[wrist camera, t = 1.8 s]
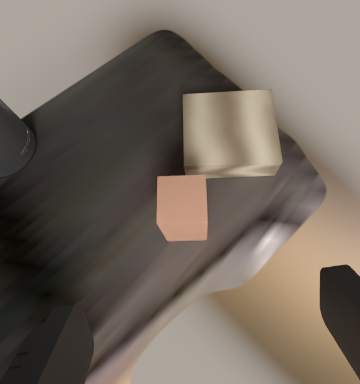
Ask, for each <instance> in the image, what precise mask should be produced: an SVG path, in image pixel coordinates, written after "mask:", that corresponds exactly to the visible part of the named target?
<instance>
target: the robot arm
mask: <svg viewBox="0 0 360 384" xmlns="http://www.w3.org/2000/svg"><path fill="white" fill-rule="evenodd" d="M35 148H36V139H35V135H34V133H33V132H32V131H31V129H30V128H29V127H28V126H27V125H26V124H25V123H24V122H23V121H22V120H21V119H20V118H19V117H18V116H17V115H16V114H15V113H14V112H13V111H12V110H11V109H10V108H9V107H8V106H7V105H6V104H5V103H4V102H3V101H2V100H1V99H0V177H4V176H8V175H11V174H13V173H16V172H17V171H19V170H20V169H22V168H23V167H24V166H25V165H26V164H27V163H28V162H29V161H30V159H31V158H32V156H33V154H34V151H35ZM320 310H321V314H322V318H323V320H324V322H325V325H326V326H327V328H328V330H329V331H330V333H331V334H332V336H333V338H334V339H335V341H336V343H337V344H338V346H339V347H340V349H341V350H342V352H343V354H344V355H345V357H346V359H347V360H348V362H349V363H350V365H351V367H352V368H353V370H354V371H355V373H356V375H357V376H358V378H359V379H360V276H359V275H357V273H356V272H355V271H354V270H353V269H352V268H351V267H350V266H348V265H339V266H332V267H325V268H322V269H321V271H320ZM93 351H94V340H93V335H92V332H91V330H90V327H89V324H88V321H87V319H86V316H85V313H84V310H83V307H82V305H81V304H80V303H78V302H77V303H70V304H63V305H57V306H55V307H54V308H53V309H52V311H51V313H50V314H49V316H48V318H47V320H46V322H45V323H44V324H39V325H38V326H37V327H36V328H35V329H34V330H33V331H32V332H31V333H30V334H29V335H28V336H27V337H26V338H25V340H24V342H23V343H22V345H21V347H20V348H19V350H18V352H17V355H16V357H14V359H13V360H12V362H11V364H10V365H9V369H8V370H7V371H6V372H5V374H4V375H3V377H2V379H1V380H0V384H84V383H85V379H86V376H87V373H88V370H89V366H90V363H91V360H92V357H93Z"/></svg>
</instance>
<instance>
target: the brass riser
mask: <svg viewBox="0 0 360 384" xmlns="http://www.w3.org/2000/svg"><path fill="white" fill-rule="evenodd" d="M183 137H184V170H185V175H206V178H223V177H248V176H273V175H275V174H276V173H277V171H278V169H279V167H280V166H281V164H282V155H281V149H280V142H279V136H278V129H277V123H276V116H275V109H274V103H273V96H272V90H271V89H263V90H248V91H230V92H214V93H197V94H183Z"/></svg>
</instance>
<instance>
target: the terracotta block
mask: <svg viewBox="0 0 360 384" xmlns="http://www.w3.org/2000/svg"><path fill="white" fill-rule="evenodd" d="M157 224H158V226H159V228H160V229H161V231H162V233H163V235H164V236H165V238H166V240H167V241H191V240H207V226H208V217H207V195H206V175H183V176H158V180H157Z"/></svg>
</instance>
